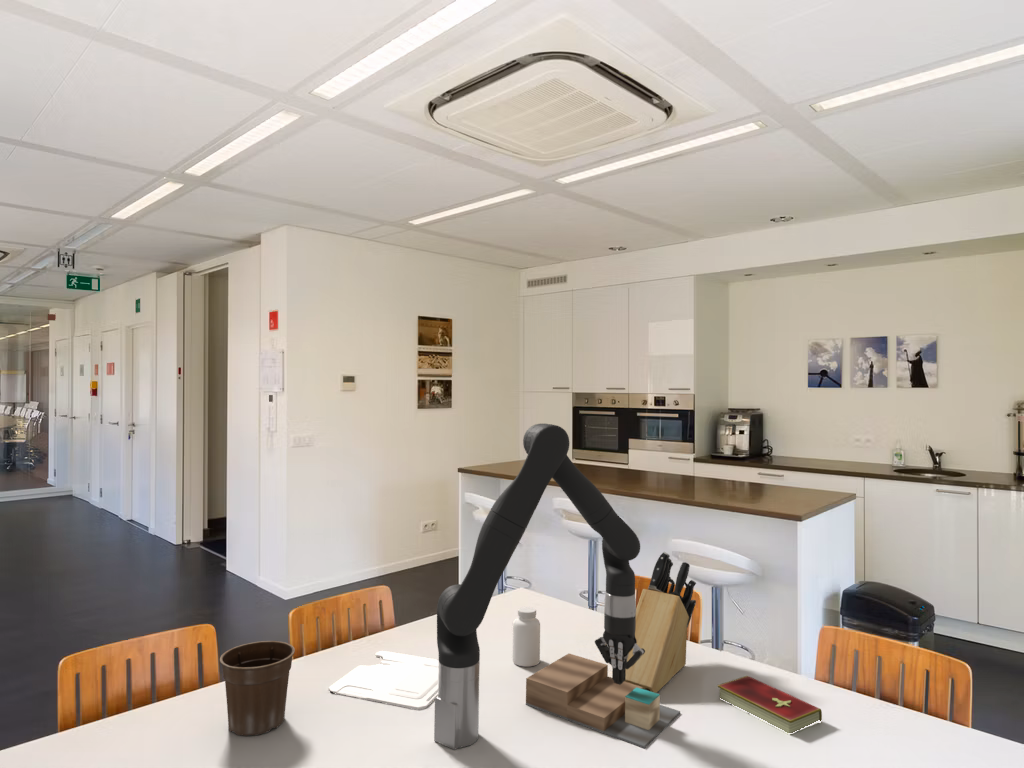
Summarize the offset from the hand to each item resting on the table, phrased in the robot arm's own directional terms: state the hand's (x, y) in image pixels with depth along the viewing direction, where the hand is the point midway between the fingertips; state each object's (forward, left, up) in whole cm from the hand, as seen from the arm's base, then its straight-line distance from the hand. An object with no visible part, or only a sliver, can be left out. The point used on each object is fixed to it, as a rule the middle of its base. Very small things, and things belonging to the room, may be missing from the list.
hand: (618, 682), depth 157 cm
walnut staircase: (0, +4, -8) cm, 9 cm away
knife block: (+29, +3, -8) cm, 31 cm away
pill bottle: (+11, +35, -8) cm, 38 cm away
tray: (-19, +56, -8) cm, 59 cm away
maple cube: (0, -6, -1) cm, 6 cm away
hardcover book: (+25, -28, -8) cm, 38 cm away
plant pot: (-56, +64, -8) cm, 86 cm away
